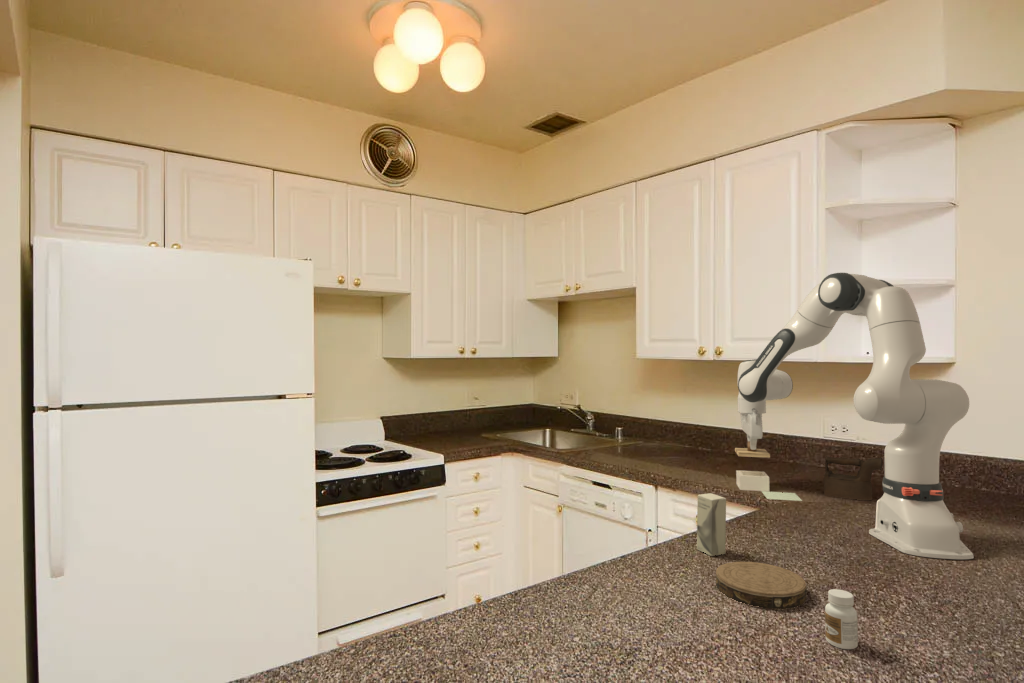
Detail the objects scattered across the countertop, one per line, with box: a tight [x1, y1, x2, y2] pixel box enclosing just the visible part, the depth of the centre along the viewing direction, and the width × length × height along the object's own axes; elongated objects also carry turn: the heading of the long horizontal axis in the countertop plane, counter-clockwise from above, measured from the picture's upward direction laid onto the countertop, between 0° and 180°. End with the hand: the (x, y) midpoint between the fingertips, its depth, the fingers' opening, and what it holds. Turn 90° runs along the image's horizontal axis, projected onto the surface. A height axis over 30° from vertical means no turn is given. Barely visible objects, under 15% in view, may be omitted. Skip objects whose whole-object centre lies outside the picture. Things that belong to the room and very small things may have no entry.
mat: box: [761, 491, 803, 502], centre depth 179 cm, size 10×10×1 cm
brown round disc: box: [715, 561, 807, 610], centre depth 109 cm, size 16×16×3 cm
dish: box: [735, 469, 770, 492], centre depth 191 cm, size 9×9×5 cm
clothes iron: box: [823, 455, 884, 501], centre depth 179 cm, size 8×16×13 cm, turn 51°
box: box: [696, 492, 727, 557], centre depth 130 cm, size 5×4×13 cm
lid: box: [734, 440, 771, 459], centre depth 191 cm, size 10×10×4 cm
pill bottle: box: [824, 588, 859, 650], centre depth 89 cm, size 4×4×8 cm
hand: (752, 448), depth 191 cm, fingers closed on lid, 3 cm apart
